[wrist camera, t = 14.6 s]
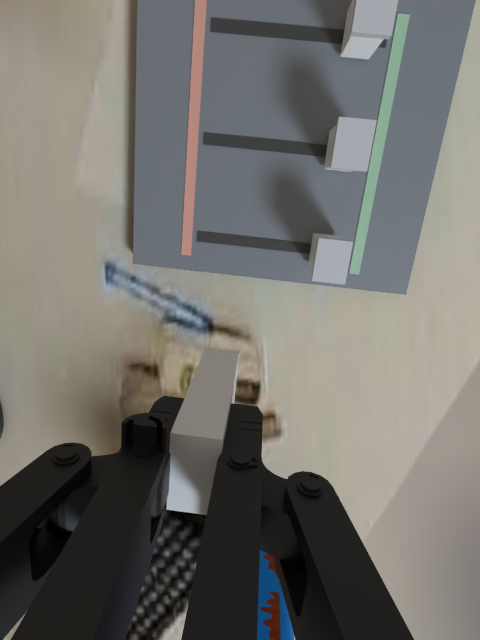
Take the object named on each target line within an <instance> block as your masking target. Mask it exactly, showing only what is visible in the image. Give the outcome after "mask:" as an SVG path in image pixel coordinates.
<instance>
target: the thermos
mask: <svg viewBox="0 0 480 640" xmlns="http://www.w3.org/2000/svg"><path fill="white" fill-rule="evenodd" d="M257 640H294V632H293V629H292V625H291V621H290V618H289V614H288V610H287V607H286V603H285V599H284V596H283V592H282V588H281V585H280V581H279V577H278V574H277V570H276V567H275V563H274V556H272V555H270V554H267V553H265V552H263V551H261V550H260V561H259V592H258V623H257Z"/></svg>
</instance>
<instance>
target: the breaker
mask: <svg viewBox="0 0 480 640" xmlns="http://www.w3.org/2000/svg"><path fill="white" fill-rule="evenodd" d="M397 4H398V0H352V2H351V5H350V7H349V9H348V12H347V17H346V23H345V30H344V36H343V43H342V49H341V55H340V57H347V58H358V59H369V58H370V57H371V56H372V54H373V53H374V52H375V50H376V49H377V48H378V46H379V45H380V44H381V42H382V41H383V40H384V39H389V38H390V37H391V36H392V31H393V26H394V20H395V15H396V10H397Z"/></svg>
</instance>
